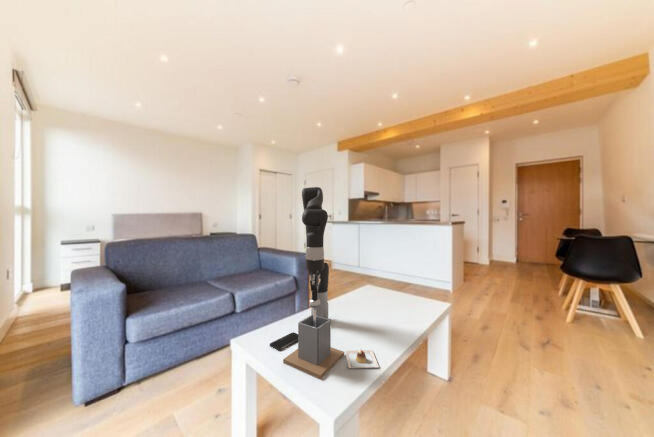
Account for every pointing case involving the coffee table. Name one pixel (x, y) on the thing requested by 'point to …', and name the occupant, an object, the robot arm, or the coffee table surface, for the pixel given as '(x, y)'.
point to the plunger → (314, 308)
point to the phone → (285, 341)
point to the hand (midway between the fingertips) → (314, 299)
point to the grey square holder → (314, 348)
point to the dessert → (361, 358)
